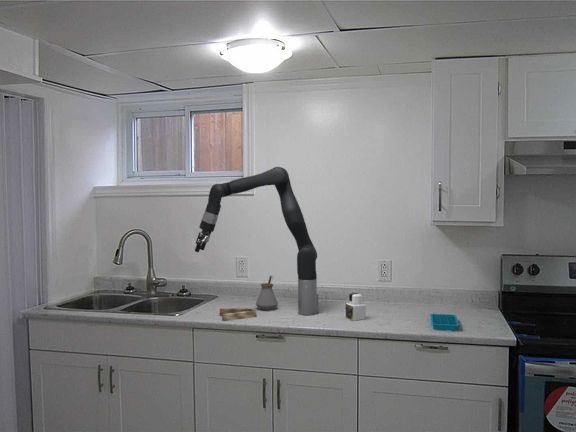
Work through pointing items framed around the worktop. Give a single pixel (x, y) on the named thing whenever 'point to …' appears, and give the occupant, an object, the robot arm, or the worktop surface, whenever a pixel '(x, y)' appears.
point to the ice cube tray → (444, 322)
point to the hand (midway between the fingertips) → (199, 250)
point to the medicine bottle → (355, 308)
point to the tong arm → (233, 310)
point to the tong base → (239, 315)
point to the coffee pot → (267, 297)
